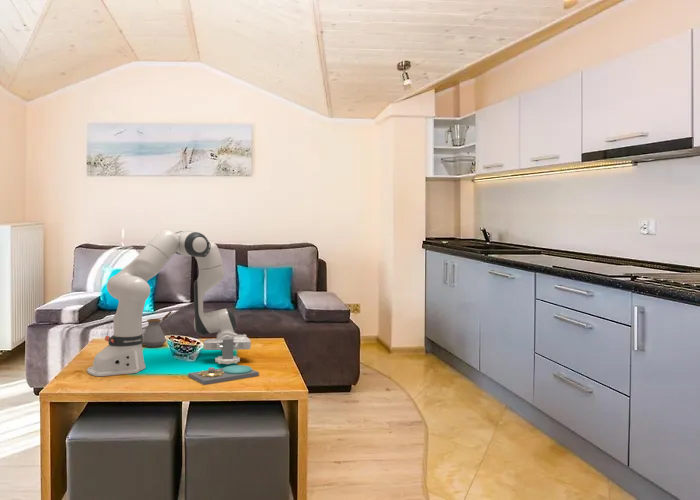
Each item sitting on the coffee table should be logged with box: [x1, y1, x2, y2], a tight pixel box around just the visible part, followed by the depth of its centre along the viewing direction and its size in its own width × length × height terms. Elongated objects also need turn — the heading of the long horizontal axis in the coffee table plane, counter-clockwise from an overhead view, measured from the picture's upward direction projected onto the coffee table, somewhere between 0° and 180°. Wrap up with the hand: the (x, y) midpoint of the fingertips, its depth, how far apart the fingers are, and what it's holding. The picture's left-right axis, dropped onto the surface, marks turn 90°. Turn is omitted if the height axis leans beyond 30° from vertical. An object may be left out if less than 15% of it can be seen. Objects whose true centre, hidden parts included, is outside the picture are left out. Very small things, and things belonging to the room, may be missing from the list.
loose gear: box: [214, 337, 241, 365], centre depth 262 cm, size 10×10×10 cm
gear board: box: [187, 364, 260, 386], centre depth 245 cm, size 24×14×4 cm, turn 129°
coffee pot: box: [143, 311, 174, 348], centre depth 303 cm, size 21×12×15 cm, turn 164°
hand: (227, 348), depth 261 cm, fingers closed on loose gear, 4 cm apart
